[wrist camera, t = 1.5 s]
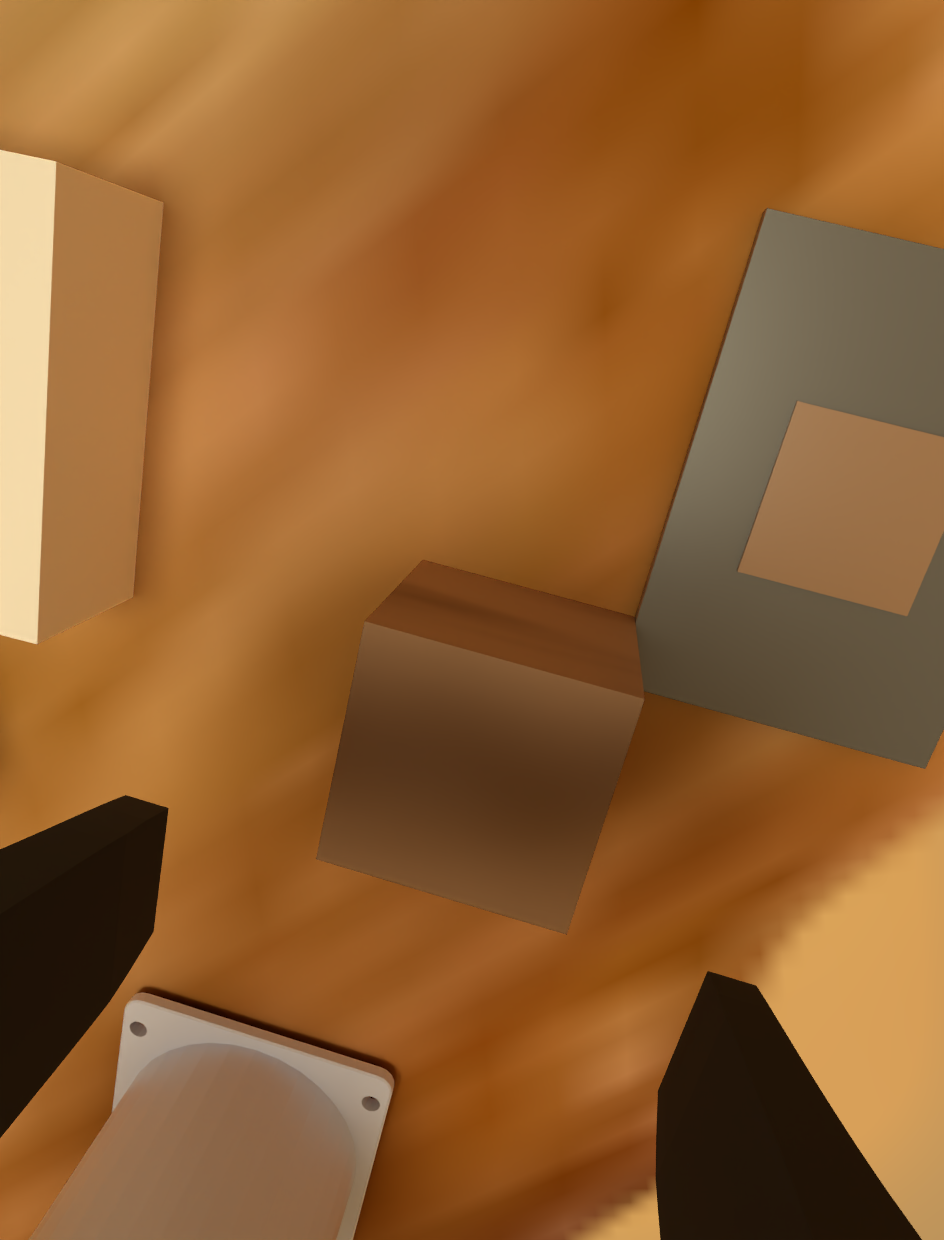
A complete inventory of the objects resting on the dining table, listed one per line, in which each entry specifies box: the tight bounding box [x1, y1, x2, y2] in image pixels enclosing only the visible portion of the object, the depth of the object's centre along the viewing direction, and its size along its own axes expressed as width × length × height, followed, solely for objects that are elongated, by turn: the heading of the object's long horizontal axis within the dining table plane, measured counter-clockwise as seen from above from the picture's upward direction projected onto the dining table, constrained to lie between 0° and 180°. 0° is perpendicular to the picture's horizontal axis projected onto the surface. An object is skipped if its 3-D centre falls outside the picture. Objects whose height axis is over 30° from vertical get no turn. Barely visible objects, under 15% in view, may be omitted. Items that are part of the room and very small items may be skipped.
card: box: [635, 208, 944, 769], centre depth 17 cm, size 10×7×1 cm
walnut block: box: [316, 560, 645, 935], centre depth 17 cm, size 5×5×5 cm
